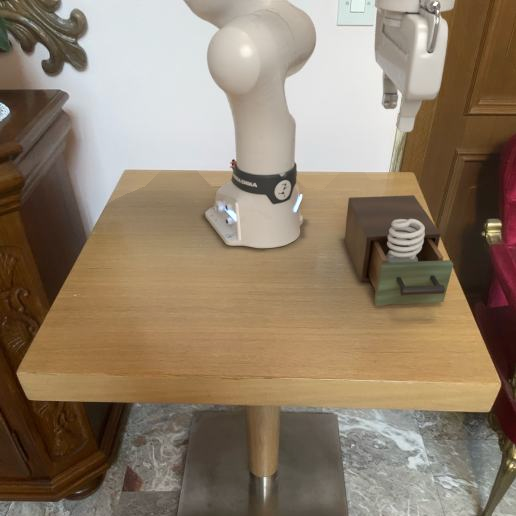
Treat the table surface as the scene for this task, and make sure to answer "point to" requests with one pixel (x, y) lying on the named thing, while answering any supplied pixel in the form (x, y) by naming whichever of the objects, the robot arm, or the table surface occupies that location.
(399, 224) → the light bulb
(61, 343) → the table surface
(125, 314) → the table surface
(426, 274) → the drawer
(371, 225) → the cabinet
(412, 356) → the table surface
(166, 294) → the table surface
